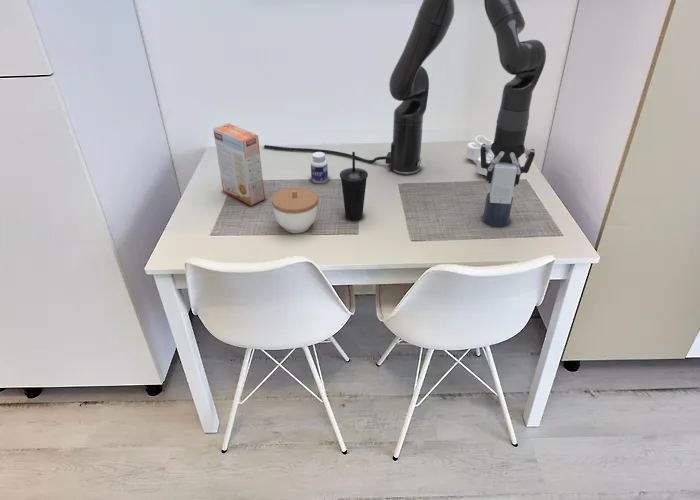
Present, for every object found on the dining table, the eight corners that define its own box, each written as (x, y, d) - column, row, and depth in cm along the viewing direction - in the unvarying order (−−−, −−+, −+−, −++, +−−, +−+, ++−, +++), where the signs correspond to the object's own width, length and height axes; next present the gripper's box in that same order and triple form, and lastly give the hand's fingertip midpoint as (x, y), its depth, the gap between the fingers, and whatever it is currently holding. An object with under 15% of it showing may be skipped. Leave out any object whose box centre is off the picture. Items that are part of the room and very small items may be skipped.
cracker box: (266, 199, 162) (259, 134, 150) (250, 207, 158) (241, 140, 146) (238, 184, 169) (228, 121, 157) (222, 191, 166) (211, 127, 154)
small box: (510, 204, 143) (517, 169, 137) (489, 203, 144) (495, 167, 137) (509, 190, 149) (515, 156, 143) (488, 188, 150) (494, 154, 144)
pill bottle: (308, 181, 171) (307, 156, 165) (315, 174, 174) (314, 149, 169) (323, 184, 169) (322, 159, 164) (330, 177, 173) (329, 152, 168)
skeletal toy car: (462, 155, 185) (464, 135, 181) (493, 153, 186) (496, 134, 182) (480, 182, 169) (483, 161, 165) (514, 180, 170) (518, 159, 166)
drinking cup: (371, 213, 154) (372, 149, 143) (360, 226, 149) (360, 160, 137) (347, 207, 157) (346, 144, 145) (336, 220, 151) (334, 155, 140)
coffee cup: (481, 224, 149) (485, 201, 144) (484, 212, 154) (487, 189, 150) (507, 228, 147) (512, 204, 143) (509, 215, 152) (513, 192, 148)
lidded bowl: (301, 243, 142) (299, 207, 136) (265, 230, 147) (260, 195, 141) (328, 221, 151) (327, 187, 144) (292, 210, 156) (289, 176, 150)
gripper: (541, 121, 136) (529, 180, 145) (484, 116, 139) (476, 174, 149) (541, 132, 130) (529, 193, 139) (481, 126, 133) (473, 186, 143)
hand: (501, 183), depth 144 cm, fingers closed on small box, 5 cm apart
